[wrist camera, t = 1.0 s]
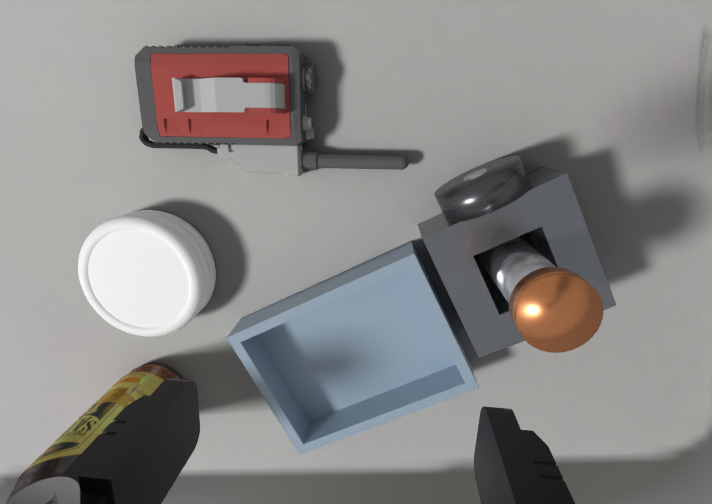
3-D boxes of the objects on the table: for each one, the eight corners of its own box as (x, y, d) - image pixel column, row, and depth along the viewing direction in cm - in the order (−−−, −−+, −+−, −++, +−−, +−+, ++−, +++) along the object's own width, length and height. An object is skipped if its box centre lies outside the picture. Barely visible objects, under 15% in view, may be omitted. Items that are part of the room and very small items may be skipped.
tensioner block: (531, 138, 31) (564, 141, 25) (587, 282, 34) (628, 314, 28) (405, 198, 33) (409, 213, 27) (467, 330, 35) (483, 369, 30)
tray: (411, 240, 34) (414, 253, 30) (470, 363, 36) (478, 387, 33) (241, 318, 37) (226, 337, 33) (307, 426, 39) (299, 454, 36)
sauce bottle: (148, 347, 38) (-89, 565, 19) (204, 389, 39) (30, 638, 20) (111, 392, 40) (-141, 635, 21) (166, 432, 41) (-29, 700, 22)
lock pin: (519, 216, 33) (587, 262, 22) (539, 266, 34) (614, 333, 23) (465, 240, 33) (504, 296, 22) (486, 288, 34) (533, 364, 23)
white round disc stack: (193, 195, 34) (172, 202, 31) (234, 307, 37) (219, 325, 33) (84, 224, 36) (52, 234, 32) (131, 330, 38) (106, 350, 35)
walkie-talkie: (154, 169, 34) (407, 175, 33) (121, 176, 30) (409, 182, 28) (140, 49, 31) (413, 50, 30) (102, 37, 27) (417, 37, 26)
